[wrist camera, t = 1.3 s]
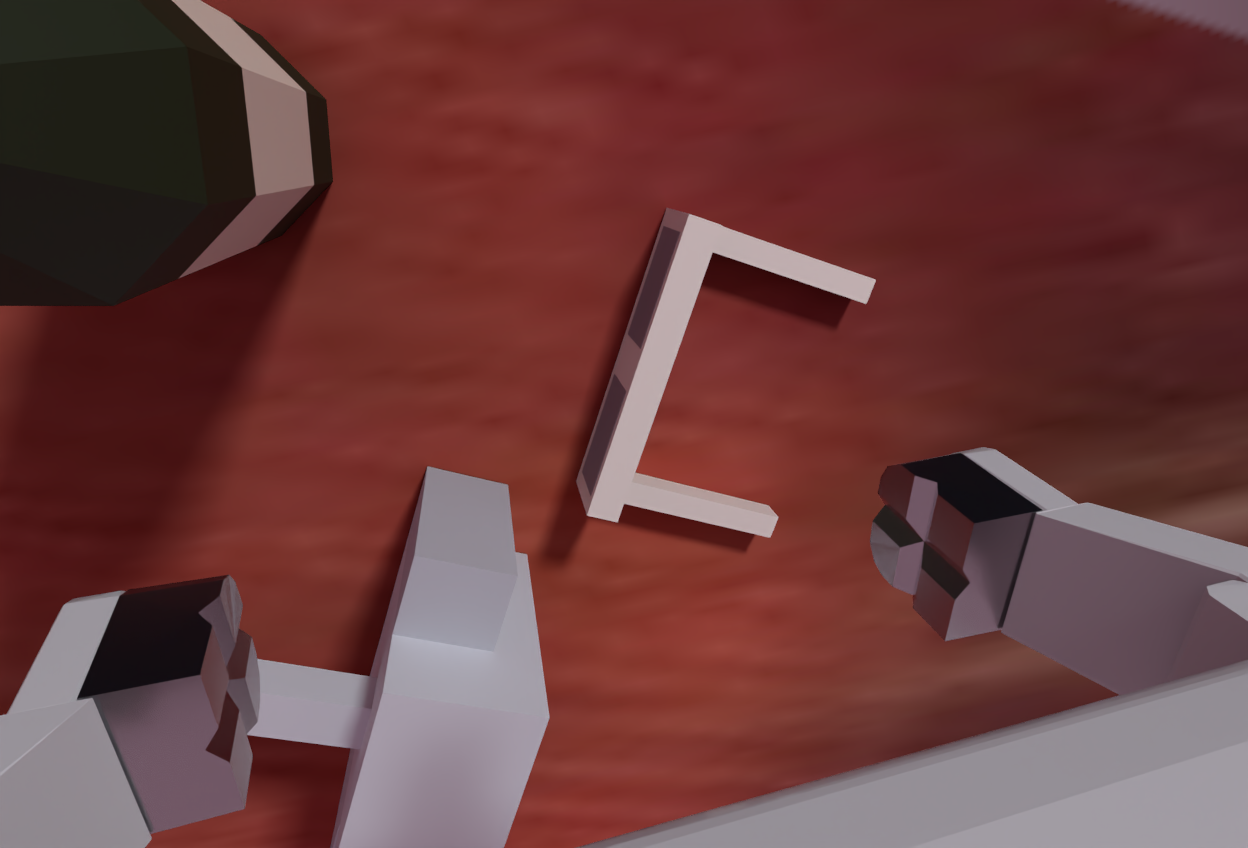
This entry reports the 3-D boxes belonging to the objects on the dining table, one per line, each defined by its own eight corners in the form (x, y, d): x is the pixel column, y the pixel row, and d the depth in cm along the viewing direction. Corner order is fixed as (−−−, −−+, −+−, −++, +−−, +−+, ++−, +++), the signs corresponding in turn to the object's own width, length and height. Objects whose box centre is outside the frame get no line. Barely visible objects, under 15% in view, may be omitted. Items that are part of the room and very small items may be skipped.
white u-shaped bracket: (861, 275, 38) (903, 288, 35) (760, 525, 42) (788, 561, 38) (666, 207, 36) (689, 213, 32) (575, 481, 39) (586, 515, 35)
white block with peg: (546, 493, 39) (577, 636, 27) (463, 750, 43) (460, 969, 32) (274, 431, 36) (179, 564, 24) (212, 716, 40) (105, 949, 28)
